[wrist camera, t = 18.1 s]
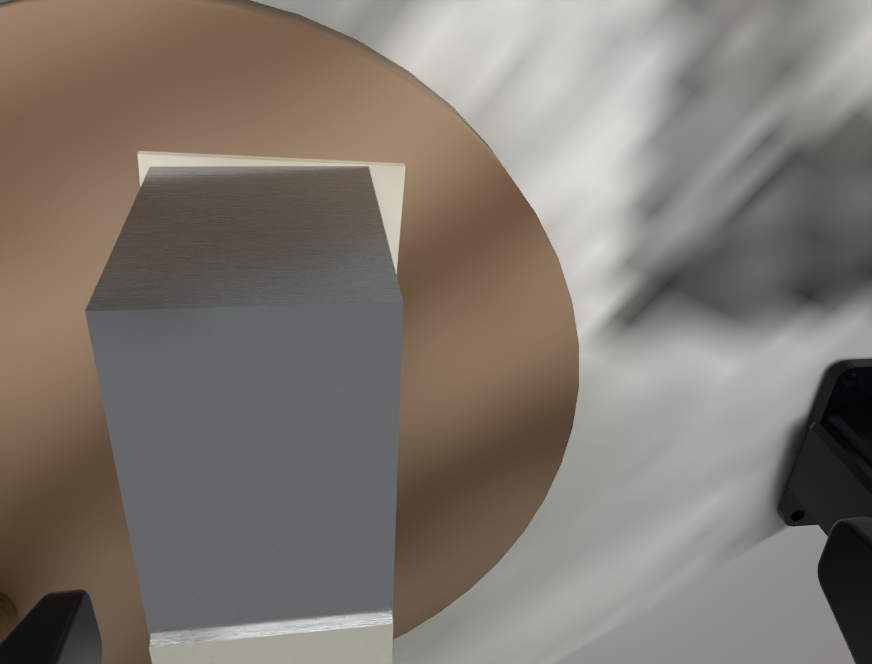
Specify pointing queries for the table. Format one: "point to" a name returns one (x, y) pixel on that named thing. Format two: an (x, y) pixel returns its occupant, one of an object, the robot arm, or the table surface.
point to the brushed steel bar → (256, 411)
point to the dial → (262, 146)
